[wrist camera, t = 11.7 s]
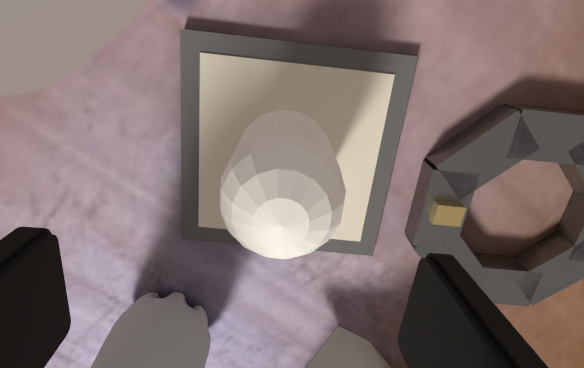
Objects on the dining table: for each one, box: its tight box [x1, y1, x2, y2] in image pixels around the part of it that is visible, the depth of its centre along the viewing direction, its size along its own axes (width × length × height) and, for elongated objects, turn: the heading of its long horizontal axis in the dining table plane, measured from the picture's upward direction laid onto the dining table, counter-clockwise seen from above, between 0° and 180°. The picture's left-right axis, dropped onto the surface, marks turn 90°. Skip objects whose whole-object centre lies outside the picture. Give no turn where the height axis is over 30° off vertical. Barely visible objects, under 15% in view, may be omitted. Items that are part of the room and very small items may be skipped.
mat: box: [180, 29, 418, 256], centre depth 20 cm, size 12×12×1 cm
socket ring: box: [405, 104, 584, 306], centre depth 21 cm, size 12×12×2 cm
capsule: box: [220, 110, 346, 259], centre depth 16 cm, size 5×5×8 cm
